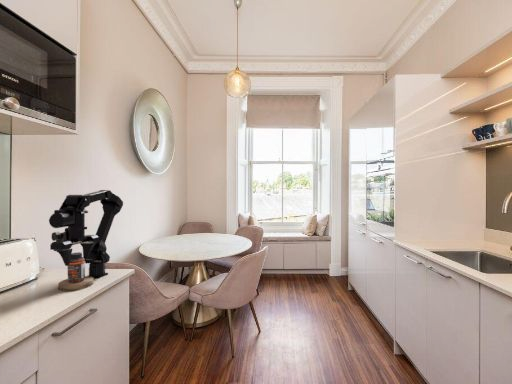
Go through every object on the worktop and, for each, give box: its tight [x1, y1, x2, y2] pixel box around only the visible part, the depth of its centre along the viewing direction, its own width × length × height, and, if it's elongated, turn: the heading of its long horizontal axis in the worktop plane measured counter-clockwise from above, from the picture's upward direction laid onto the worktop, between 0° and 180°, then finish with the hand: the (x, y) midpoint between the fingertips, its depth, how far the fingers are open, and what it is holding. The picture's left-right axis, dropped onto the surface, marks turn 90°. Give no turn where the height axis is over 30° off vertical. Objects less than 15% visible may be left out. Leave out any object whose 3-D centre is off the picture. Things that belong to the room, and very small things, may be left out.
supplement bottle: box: [67, 252, 86, 283], centre depth 109 cm, size 6×6×11 cm
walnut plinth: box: [57, 275, 94, 292], centre depth 109 cm, size 12×12×2 cm
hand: (76, 262), depth 109 cm, fingers open, 9 cm apart
